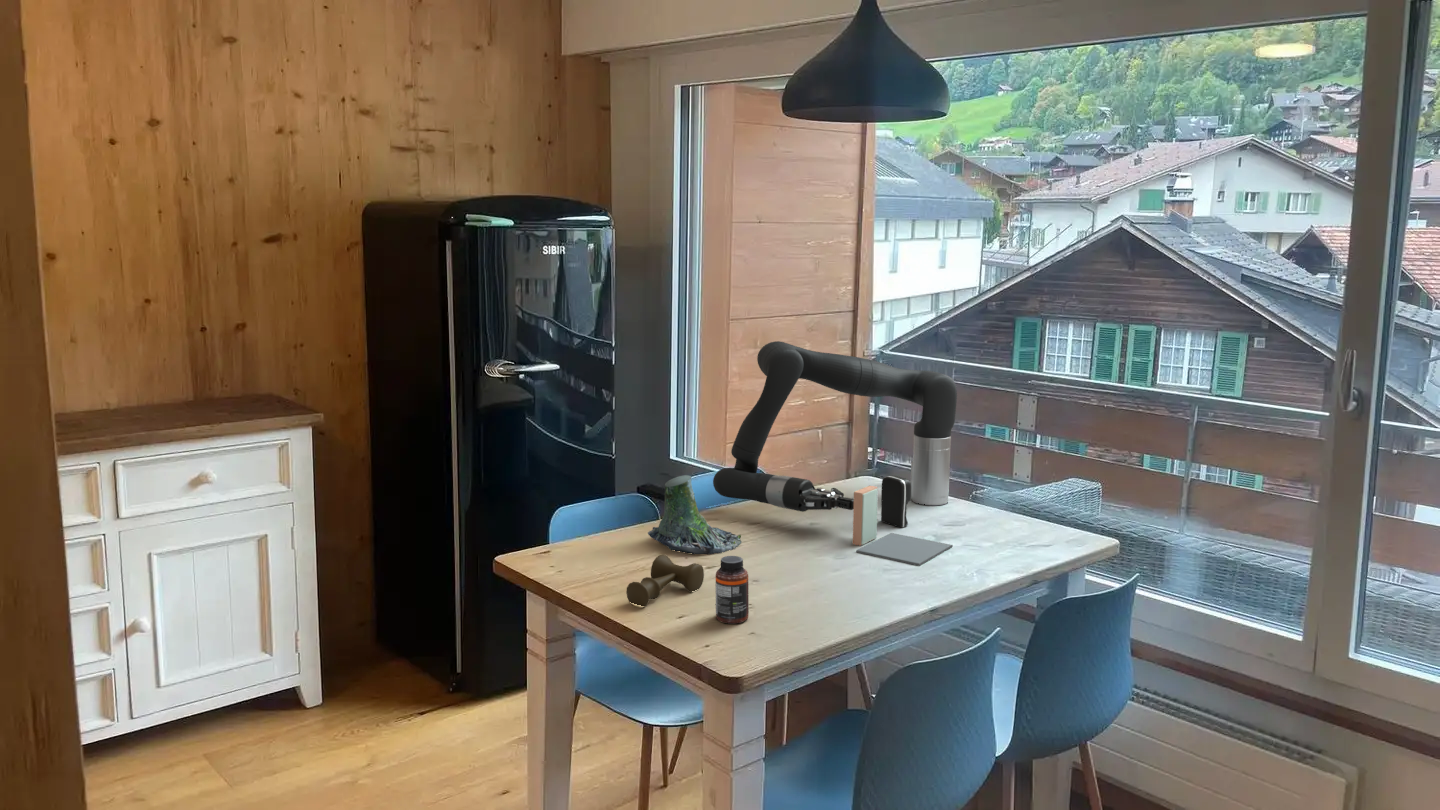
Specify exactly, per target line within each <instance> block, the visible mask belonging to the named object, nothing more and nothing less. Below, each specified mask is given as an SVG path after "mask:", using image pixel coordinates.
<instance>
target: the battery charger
mask: <svg viewBox="0 0 1440 810" xmlns="http://www.w3.org/2000/svg"><path fill="white" fill-rule="evenodd" d="M880 490H881V493H880V494H881V495H880V497H881V498H880V499H881V506H880V507H881V510H880V513H881V515H880V521H881V522H883V523H886V524H888V525H890V526H894V527H898V528H904V527H907V526H908V524H909V522H908V519H907V509H908V508H907V507H908V506H907V505H908V502H909V501H912V498H911V480H909V479H908V478H906V477H902V476H899V475H898V476H897V475H887V476H884V477H883V478H882V481H881V489H880Z"/></svg>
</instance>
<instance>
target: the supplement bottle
mask: <svg viewBox="0 0 1440 810" xmlns="http://www.w3.org/2000/svg"><path fill="white" fill-rule="evenodd" d="M749 593H750V592H749V572H748V570H747V569H746V568H744V559H743V558H742V557H741V556H737V555H725V556H722V557H721V558H720V567H719V569H717V571H716V572H715V605H714V606H715V618H716V620H717V621H719V622H720V621H721V623H723V624H727V623H728V624H729V625H732V624H734V625H735V624H741V623H745V621H746V620H748V618H749V608H750V607H749V605H750V604H749V601H750V600H749ZM728 624H727V625H728Z"/></svg>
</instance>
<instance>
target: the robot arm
mask: <svg viewBox="0 0 1440 810" xmlns="http://www.w3.org/2000/svg"><path fill="white" fill-rule="evenodd" d="M756 359H757V360H756V361H757V365H758V367H759V369H760V371H761V372H762V374H763V375H765V376H766V378H765V383H764V386H763V389H762V391H761V393H760V397H759V398H758V400H757V401H756V403H755V405H754V406H753V407H752V408H751V410H750V411H749V413H748V414H747V415H746V417H745V418H744V419H743V421H742V423H741V425H740V427H739V428H738V429H739V430H738V432H737V434H736V437H735V438H734V439H735V440H734V442H733V444H732V446H731V452H730V453H731V455H732V457H733V458H734V459H735V464H734V466H733V467H725V468H724V467H723V468H722V469H719V470H718V471H717V472H716V473H715V474H714V476H713V480H712V484H713V488H714V490H715V491H716V493H718V494H719V495H720V496H722V497H724V498H729V499H739V500H749V501H750V500H751V501H755V502H759V503H763V504H768V505H771V506H775V507H777V508H783V509H787V510H793V511H797V512H802V513H803V512H804V513H805V512H806V511H809V510H810V511H811V510H815V511H816V510H817V511H819V510H820V511H821V510H822V511H823V510H827V511H830V510H832V509H843V510H849V511H852V510H854V498H850V497H844V496H845V494H844V492H842V491H841V490H839V489H838V488H835V487H832V488H831V489H830V490H829V489H825V488H823V487H817V488H816V487H815V485H814V484H813V482H812V481H811V480H810V479H805V478H800V477H795V476H789V475H779V474H778V475H776V474H770V473H767V472H758V467H759V458H760V457H761V454H762V452H763V449H764V447H765V444H766V442H767V439H768V437H769V435H770V432H771V430H772V429H773V428H772V427H773V425H774V423H775V422H776V419H777V417H778V415H779V414H780V413H781V412H780V411H781V410H782V408H783V405H784V404H785V402H786V401H787V399H788V397H789V395H790V394H791V393H792V390H793V389H794V388H795V386H796V384H797V382H799V381H798V380H799V379H800V380H805V381H810V382H813V383H816V384H819V385H821V386H824V387H826V388H829V389H830V390H831V389H832V390H833V391H837V392H840V393H843V394H848V395H855V396H859V397H869V398H870V397H872V398H874V397H875V398H879V397H880V398H881V397H893V398H898V399H902V400H905V401H908V402H911V403H914V404H917V405H919V406H921V407H922V410H921V411H922V414H921V419H920V420H919V421H917V422H915V424H914V426H913V446H912V448H913V454H912V456H913V457H912V461H911V463H910V483H911V501H912V502H913V503H916V504H918V503H919V504H920V505H924V504H925V506H942V505H946V504H948V503H949V493H950V492H949V489H950V473H951V472H950V469H951V443H952V436H951V435H952V429H953V428H954V425H955V421H956V412H957V399H958V390H957V385H956V382H955V381H954V379H953V378H952V377H951V376H949V375H947V374H944V373H942V372H937V371H933V370H922V369H921V370H918V369H917V370H916V369H905V368H900V367H899V368H898V367H896V366H895V367H894V366H891V365H889V364H886V363H883V362H881V361H880V362H879V361H876V360H873V359H868V358H864V357H859V356H852V355H846V354H838V353H831V352H821V351H814V350H811V349H807V348H803V347H800V346H796V345H793V344H791V343H788V342H785V341H781V340H780V341H779V340H778V341H770V342H768V343H766V344H764V346H762V347H761V348H760V350H759V351H758V354H757V357H756ZM947 502H948V503H947ZM919 504H918V505H919Z"/></svg>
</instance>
